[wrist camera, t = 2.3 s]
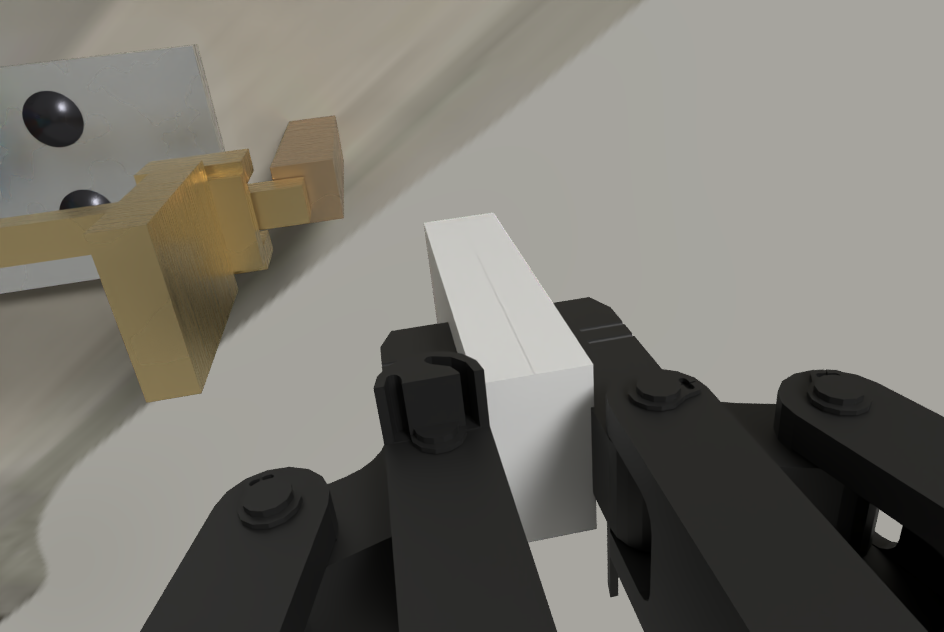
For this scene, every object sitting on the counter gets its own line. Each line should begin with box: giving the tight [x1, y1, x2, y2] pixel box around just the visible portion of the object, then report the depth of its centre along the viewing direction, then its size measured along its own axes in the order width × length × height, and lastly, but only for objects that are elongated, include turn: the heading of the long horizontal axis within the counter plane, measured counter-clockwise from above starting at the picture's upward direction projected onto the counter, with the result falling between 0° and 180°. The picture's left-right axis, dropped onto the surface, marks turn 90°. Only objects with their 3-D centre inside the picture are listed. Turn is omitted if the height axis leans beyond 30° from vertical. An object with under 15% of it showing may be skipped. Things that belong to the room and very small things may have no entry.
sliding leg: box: [84, 149, 273, 403], centre depth 21 cm, size 3×4×16 cm
